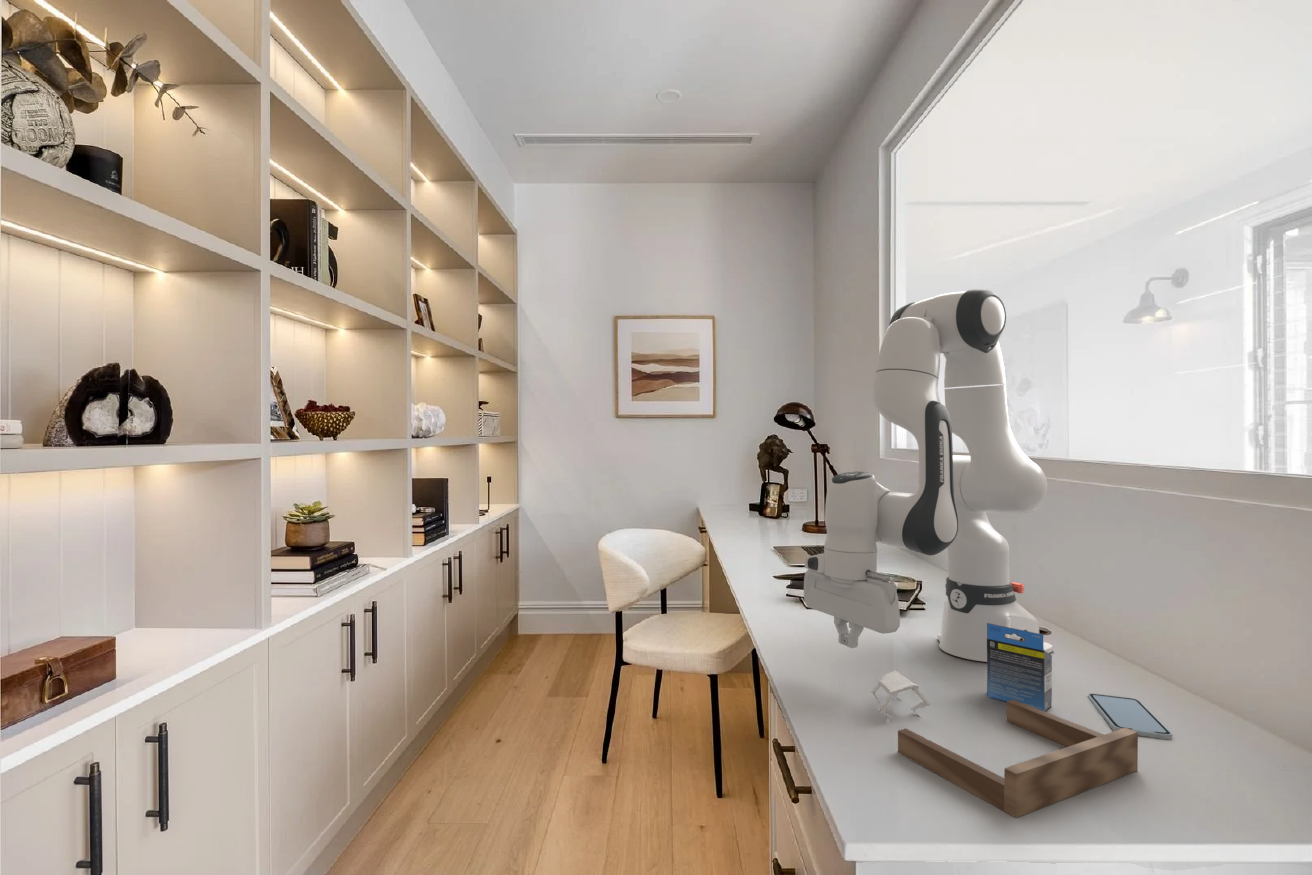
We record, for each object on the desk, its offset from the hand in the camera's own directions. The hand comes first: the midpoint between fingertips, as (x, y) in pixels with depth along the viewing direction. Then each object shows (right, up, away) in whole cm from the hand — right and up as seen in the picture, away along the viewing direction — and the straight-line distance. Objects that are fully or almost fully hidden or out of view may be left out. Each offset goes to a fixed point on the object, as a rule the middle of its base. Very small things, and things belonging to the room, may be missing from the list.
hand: (848, 645), depth 117 cm
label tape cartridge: (+26, -7, -7) cm, 28 cm away
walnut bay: (+14, -7, -26) cm, 31 cm away
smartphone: (+40, -8, -12) cm, 42 cm away
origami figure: (+5, -7, -10) cm, 14 cm away
